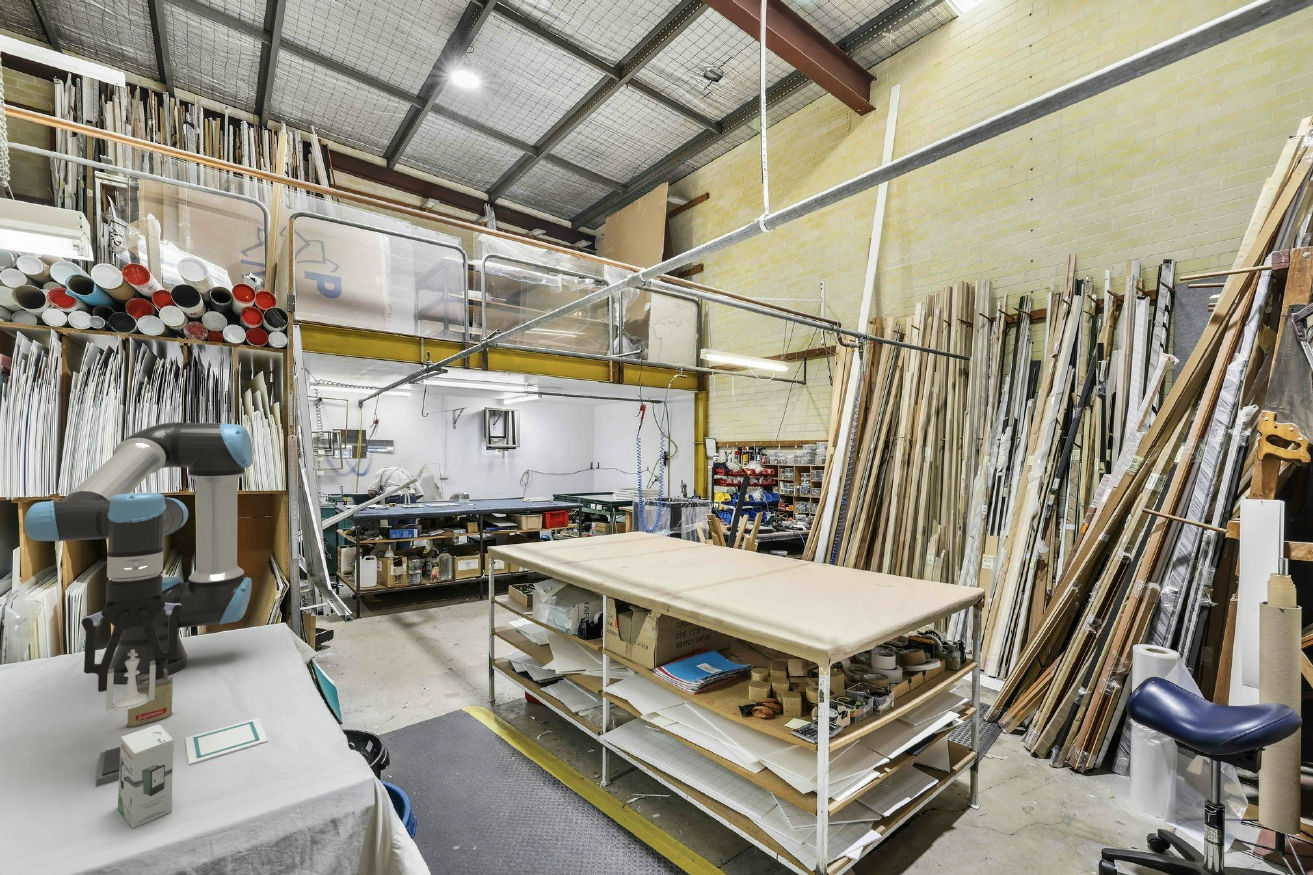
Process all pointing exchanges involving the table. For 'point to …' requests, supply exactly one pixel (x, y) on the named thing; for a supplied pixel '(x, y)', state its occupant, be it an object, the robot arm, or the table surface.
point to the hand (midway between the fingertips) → (130, 702)
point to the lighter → (152, 701)
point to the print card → (224, 741)
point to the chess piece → (131, 687)
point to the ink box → (145, 775)
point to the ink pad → (108, 766)
